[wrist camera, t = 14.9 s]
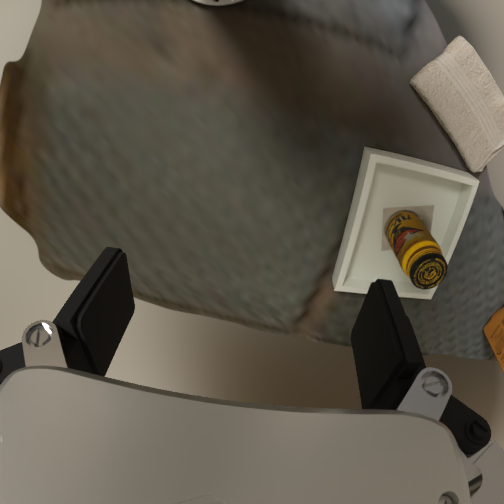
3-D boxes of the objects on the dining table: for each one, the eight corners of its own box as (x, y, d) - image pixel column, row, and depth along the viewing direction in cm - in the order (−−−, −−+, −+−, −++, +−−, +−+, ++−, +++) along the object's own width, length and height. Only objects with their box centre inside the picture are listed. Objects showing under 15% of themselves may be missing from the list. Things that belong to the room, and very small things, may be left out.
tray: (364, 146, 40) (370, 153, 37) (468, 172, 40) (479, 181, 37) (331, 277, 52) (334, 290, 49) (424, 286, 52) (430, 299, 49)
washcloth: (469, 173, 40) (478, 180, 38) (403, 81, 35) (411, 82, 32) (513, 129, 35) (524, 134, 32) (454, 34, 29) (465, 34, 27)
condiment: (382, 207, 44) (409, 253, 34) (433, 204, 43) (469, 247, 33) (380, 250, 48) (402, 301, 38) (428, 245, 46) (457, 293, 36)
